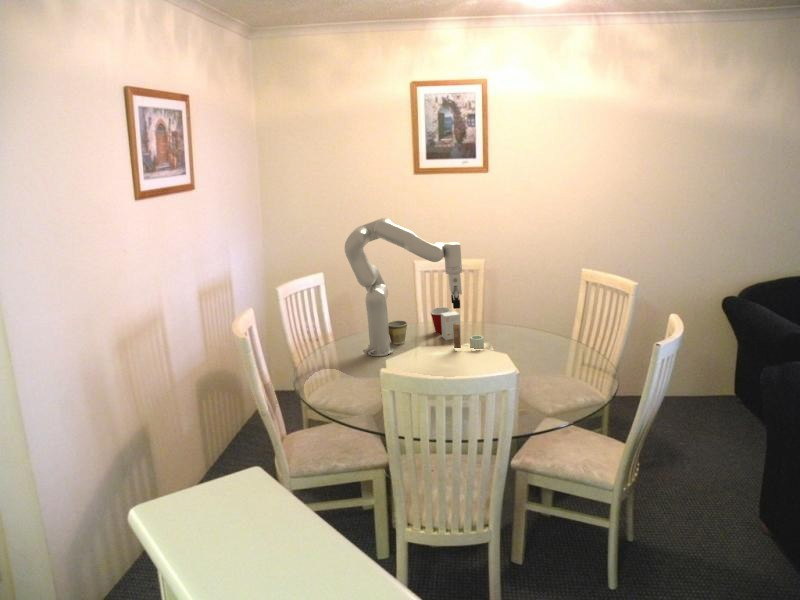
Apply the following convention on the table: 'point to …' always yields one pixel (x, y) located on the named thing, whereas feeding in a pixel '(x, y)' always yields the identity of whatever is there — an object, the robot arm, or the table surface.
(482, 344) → the jar
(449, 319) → the small box
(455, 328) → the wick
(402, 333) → the ceramic cup
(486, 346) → the trivet
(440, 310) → the plastic cup
